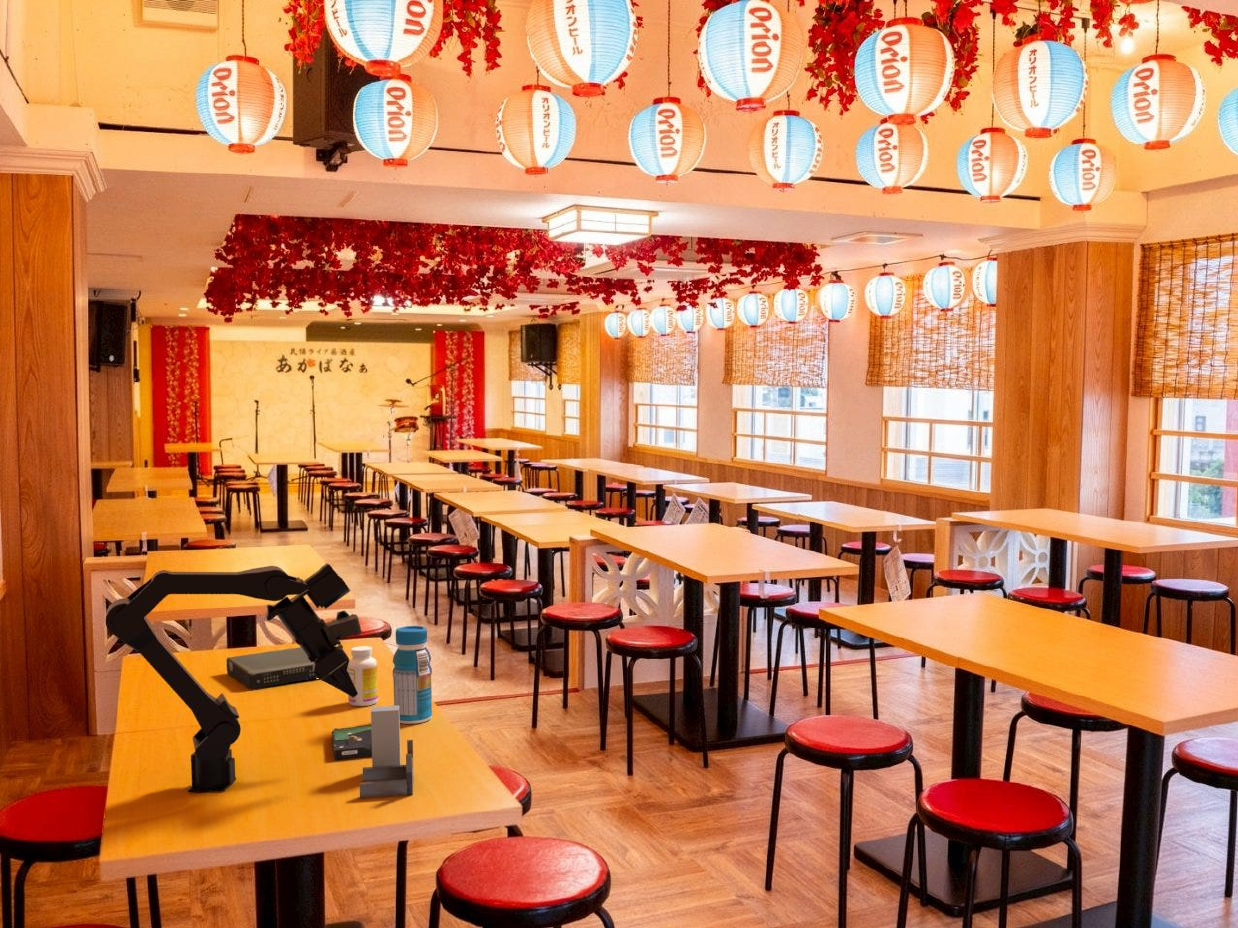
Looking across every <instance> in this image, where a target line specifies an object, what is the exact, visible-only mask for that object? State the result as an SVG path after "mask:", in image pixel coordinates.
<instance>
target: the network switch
mask: <svg viewBox="0 0 1238 928" xmlns="http://www.w3.org/2000/svg"><path fill="white" fill-rule="evenodd" d="M226 672H227V675H228V674H229V675H228V676H230V675H231V676H230V677H233V678H234V679H236V680H237V681H239V682H240V683H242V685H243V684H244V685H245V686H244V685H243V686H244V687H246V688H247V687H248V688H247V689H248V691H251V690H250V689H255V690H259V688H261V689H265V688H264V687H266V688H270V687H269V686H272V687H275V686H274V685H277V686H280V685H279V684H281V685H285V684H289V682H291V683H296V682H295V681H297V682H302V681H301V680H305V681H307V680H306V679H311V680H313V679H312V678H318V677H317V675H316V674H315V673H314V671H313V662H311V661H310V660H309V659H308V656H307V655H306V653H305V652H304V651H303V649H302V648H301V647H300V646H299V647H294V648H287V649H279V650H272V651H271V650H269V651H264V652H258V653H256V652H255V653H251V654H244V655H242V654H241V655H237V656H231V657H227V658H226ZM284 683H285V684H284Z"/></svg>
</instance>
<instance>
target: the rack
mask: <svg viewBox="0 0 1238 928" xmlns="http://www.w3.org/2000/svg"><path fill="white" fill-rule="evenodd" d="M406 746H407V747H406V749H407V750H406V753H405V764H401V765H392V766H378V767H372V766H365V767H362V782H359V785H358V786H359V799H373V798H374V799H375V798H376V799H377V798H387V796H390V797H402V796H412V795H414V794H413V793H414V780H415V778H414V777H415V776H414V772H415V771H414V770H415V769H414V740H413V739H407V740H406Z"/></svg>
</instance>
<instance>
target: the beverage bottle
mask: <svg viewBox="0 0 1238 928" xmlns="http://www.w3.org/2000/svg"><path fill="white" fill-rule="evenodd" d="M427 629H428V628H427V627H426V626H421V625H406V626H402V627H398V628H396V629H395V643H396V646H398V648H397V649H396V651H395V652H394V655H393V657H392V664H393V666H394V667H393V669H392V679H393V682H392V683H393V706H397V705H399V715H400V724H405V725H412V724H413V725H416V724H421V723H425V722H428V721H430V720H431V719H432V717H433V705H432V704H433V702H432V701H433V695H432V693H433V692H432V689H433V687H432V683H433V682H432V674H433V668H432V666H431V661H432V657H431V653H430V651H429V649H428V648H427V646H426V644H427V643H428V630H427Z"/></svg>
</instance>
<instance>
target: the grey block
mask: <svg viewBox="0 0 1238 928" xmlns="http://www.w3.org/2000/svg"><path fill="white" fill-rule="evenodd" d="M370 725H371V734H372V757H371V765H372V766H371V767H378V766H392V765H402V762H401V759H402V758H401V757H402V756H401V723H400V715H399V705H397V706H394V705H384V706H371V710H370Z"/></svg>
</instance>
